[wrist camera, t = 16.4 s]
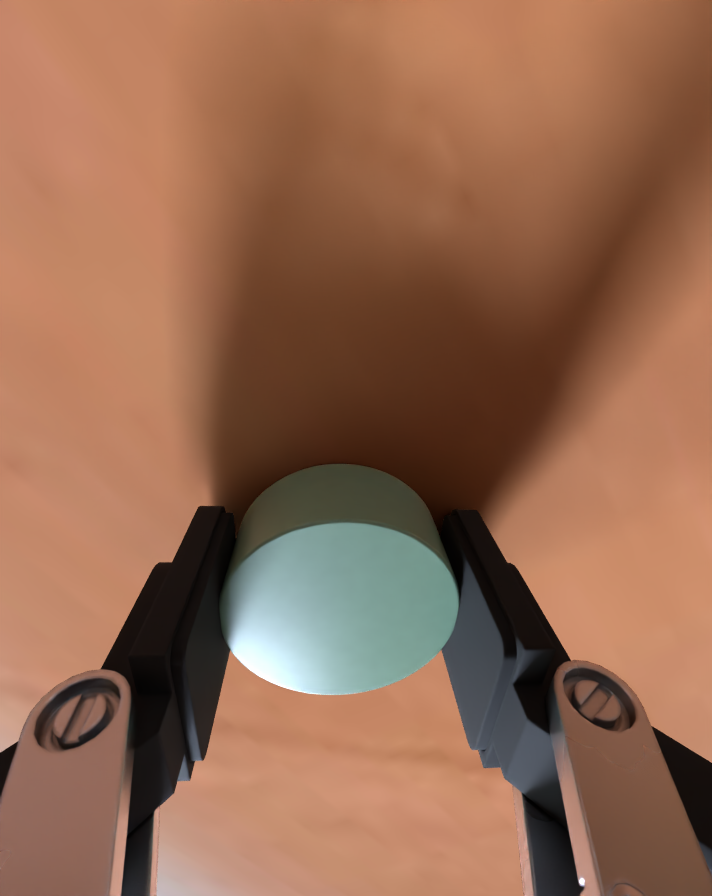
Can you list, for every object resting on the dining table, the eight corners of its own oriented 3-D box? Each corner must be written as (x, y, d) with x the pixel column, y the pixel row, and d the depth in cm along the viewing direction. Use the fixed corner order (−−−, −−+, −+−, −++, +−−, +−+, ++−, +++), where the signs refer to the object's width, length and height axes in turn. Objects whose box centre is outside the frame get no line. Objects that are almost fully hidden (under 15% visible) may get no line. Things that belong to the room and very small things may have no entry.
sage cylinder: (475, 521, 11) (510, 585, 9) (364, 642, 12) (372, 719, 10) (302, 424, 9) (296, 475, 7) (203, 576, 11) (176, 652, 9)
